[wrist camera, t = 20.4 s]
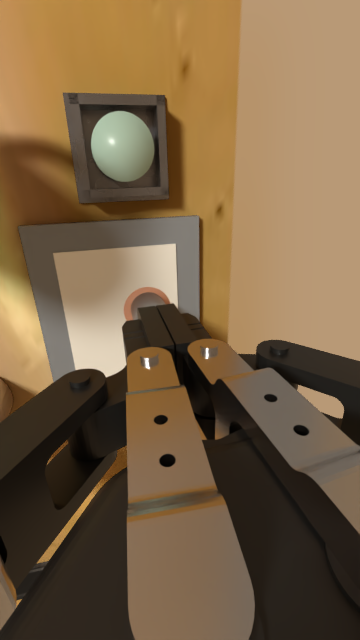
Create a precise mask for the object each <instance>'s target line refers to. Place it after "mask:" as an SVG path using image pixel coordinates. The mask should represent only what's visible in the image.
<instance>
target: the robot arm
mask: <svg viewBox="0 0 360 640" xmlns="http://www.w3.org/2000/svg"><path fill="white" fill-rule="evenodd" d="M137 316H138V319H137V320H129V321H126V322H125V323H124V325H123V326H122V333H123V342H124V350H125V358H126V366H125V367H124V368H123V369H122V370H121V371H119V372H118V373H116V374H114V375H111V376H108V377H105V375H104V373H103V372H101V371H99V370H96V369H89V368H88V369H79V370H75V371H72V372H69V373H67V374H65V375H63V376H62V377H60V378H59V379H58V380H56V381H55V382H54V383H52V384H51V385H50V386H48V387H47V388H46V389H44V390H43V391H42V392H40V393H39V394H38V395H36V396H35V397H34V398H32V399H31V400H30V401H28V402H27V403H26V404H24V405H23V406H22V407H20V408H19V409H18V410H16V411H15V412H14V413H12V414H11V415H10V416H9V414H10V411H11V408H12V405H13V397H12V393H11V391H10V389H9V387H8V386H7V385H6V383H5V382H4V381H3V380H1V379H0V640H360V361H356V360H353V359H349V358H345V357H342V356H338V355H335V354H330V353H327V352H324V351H320V350H316V349H312V348H309V347H305V346H301V345H298V344H294V343H290V342H287V341H282V340H268V341H264V342H261V343H260V344H258V346H257V350H256V355H255V354H237V353H236V352H235V351H234V350H233V349H232V348H231V347H230V346H229V345H228V344H227V343H225V342H223V341H221V340H217V339H212V338H211V336H210V335H209V334H208V332H207V331H206V330H205V328H204V327H203V326H202V324H200V322H199V320H198V319H197V318H196V317H195V316H193V315H191V314H189V313H183V314H180V312H179V311H178V309H177V307H176V306H175V304H174V303H172V304H164V305H156V306H148V307H139V308H137ZM298 385H301V386H304V387H307V388H310V389H313V390H316V391H318V392H321V393H324V394H327V395H330V396H333V397H335V398H337V399H338V400H339V401H341V403H342V404H343V406H344V415H343V418H342V419H339V418H335V417H332V416H330V415H327V414H324V413H322V412H320V411H319V410H318V409H317V408H316V407H314V406H313V405H312V404H311V403H310V402H309V401H308V400H307V399H306V398H305V397H303V396H302V395H301V394H300V393H299V392H298V391H297V388H298ZM66 440H68V444H67V445H66V446H65V447H64V448H63V449H62V450H61V451H60V452H59V453H58V454H57V455H56V456H55V457H54V458H53V459H52V460H51V461H50V462H49V463H48V465H47V462H48V460H49V458H50V457H51V455H52V454H53V453H54V452H55V451H56V450H57V449H58V448H59V447H60V446H61V445H62V444H63V443H64V442H65V441H66ZM126 445H127V467H126V468H125V469H123V470H121V471H120V472H119V473H117V474H116V475H114V476H113V477H112V478H111V479H110V480H109V481H108V482H106V483H105V484H104V485H103V487H102V488H101V489H100V490H99V491H98V492H97V494H96V495H95V496H94V497H93V499H92V500H91V502H90V503H89V505H88V506H87V507H86V509H85V510H84V512H83V513H82V515H81V516H80V517H79V519H78V520H77V522H76V523H75V525H74V526H73V527H72V529H71V530H70V532H69V533H68V535H67V536H66V537H65V539H64V540H63V542H62V543H61V545H60V546H59V547H58V549H57V550H56V552H55V553H54V555H53V556H52V557H51V559H50V560H49V562H48V563H47V565H46V566H45V567H44V569H43V570H42V572H41V573H40V575H39V576H38V577H37V579H36V580H35V582H34V583H33V584H32V586H31V587H30V589H29V590H28V592H27V593H26V594H25V596H24V597H23V599H22V600H21V602H20V603H19V604H18V606H17V607H16V599H17V597H16V589H17V588H18V586H19V585H20V584H21V582H22V581H23V580H24V579H25V577H26V576H27V575H28V573H29V572H30V571H31V569H32V568H33V567H34V566H35V564H36V563H37V562H38V560H39V559H40V558H41V556H42V555H43V554H44V552H45V551H46V550H47V549H48V547H49V546H50V545H51V543H52V542H53V541H54V539H55V538H56V537H57V536H58V534H59V533H60V532H61V530H62V529H63V528H64V526H65V525H66V524H67V522H68V521H69V520H70V519H71V517H72V516H73V515H74V513H75V512H76V511H77V509H78V508H79V507H80V506H81V504H82V503H83V502H84V500H85V499H86V498H87V496H88V495H89V494H90V493H91V491H92V490H93V489H94V487H95V486H96V485H97V483H98V482H99V481H100V479H101V478H102V477H103V476H104V474H105V473H106V472H107V470H108V469H109V468H110V466H111V465H112V464H113V462H114V461H115V459H116V457H117V450H118V449H120V448H122V447H124V446H126ZM46 465H47V466H46ZM15 608H16V609H15Z"/></svg>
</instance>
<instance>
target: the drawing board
mask: <svg viewBox="0 0 360 640" xmlns="http://www.w3.org/2000/svg"><path fill="white" fill-rule="evenodd" d="M18 230H19V234H20V238H21V243H22V247H23V251H24V256H25V260H26V264H27V269H28V273H29V277H30V282H31V286H32V290H33V295H34V299H35V303H36V308H37V312H38V316H39V321H40V325H41V329H42V334H43V338H44V342H45V346H46V351H47V355H48V359H49V364H50V368H51V372H52V377H53V381H54V382H55V381H56V380H58V379H59V378H60V377H62V376H63V375H65V374H67V373H69V372H72V371H75V370H79V369H88V368H89V369H96V370H99V371H101V372H103V373H104V375H105V377H108V376H111V375H114V374H116V373H118V372H119V371H121V370H122V369H123V368H124V367H125V366H126V358H125V350H124V342H123V333H122V326H123V325H124V323H125V322H126V321H129V320H133V318H132V314H131V304H132V302H133V300H134V299H135V298H136V297H137V296H138V295H140V294H142V293H146V292H152V293H155V294H157V295H159V296H160V297H161V298H162V299H163V301H164V303H165V304H172V303H174V304H175V306H176V307H177V309H178V311H179V312H180V314H183V313H189V314H191V315H193V316H195V317H196V318H197V319H198V320H199V216H197V215H195V216H177V217H160V218H143V219H126V220H109V221H92V222H74V223H57V224H40V225H23V226H18ZM199 322H200V321H199Z"/></svg>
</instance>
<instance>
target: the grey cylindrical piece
mask: <svg viewBox="0 0 360 640" xmlns="http://www.w3.org/2000/svg"><path fill="white" fill-rule="evenodd" d="M164 304H165V303H164V301H163V299H162V298H161V297H160V296H159V295H157V294H155V293H152V292H146V293H142V294H140V295H138V296H137V297H136V298H135V299H134V300H133V302H132V304H131V314H132V318H133V320H137V319H138V316H137V308H139V307H148V306H156V305H164Z"/></svg>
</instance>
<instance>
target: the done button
mask: <svg viewBox="0 0 360 640" xmlns="http://www.w3.org/2000/svg"><path fill="white" fill-rule="evenodd" d="M91 149H92V155H93V158H94V161H95V163H96V165H97V166H98V168H99V169H100V170H101V171H102V172H103V173H104V174H105V175H106V176H107V177H109V178H111V179H113V180H116V181H120V182H129V181H134V180H136V179H139V178H140V177H142V176H143V175H144V174H145V173H146V172H147V171H148V169H149V168H150V166H151V164H152V161H153V157H154V142H153V138H152V135H151V133H150V131H149V129H148V127H147V126H146V124H145V123H144V122H143V121H142V120H141V119H140V118H138V117H137V116H135V115H134V114H132V113H129V112H125V111H115V112H111V113H108V114H106V115H105V116H103V117H102V118H101V119H100V120H99V121H98V123H97V124H96V126H95V128H94V130H93V133H92V138H91Z"/></svg>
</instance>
